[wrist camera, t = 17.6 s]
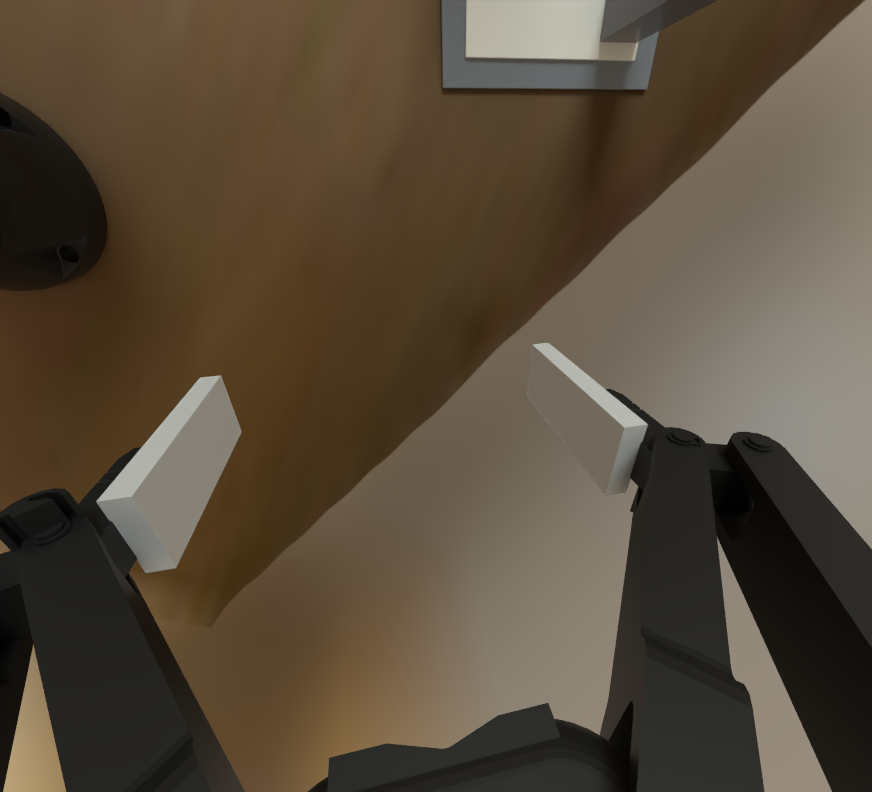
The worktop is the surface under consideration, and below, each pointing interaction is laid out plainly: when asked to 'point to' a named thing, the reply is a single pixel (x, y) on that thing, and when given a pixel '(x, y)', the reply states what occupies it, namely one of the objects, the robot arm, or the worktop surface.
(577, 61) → the paper
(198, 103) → the worktop surface
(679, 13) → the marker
